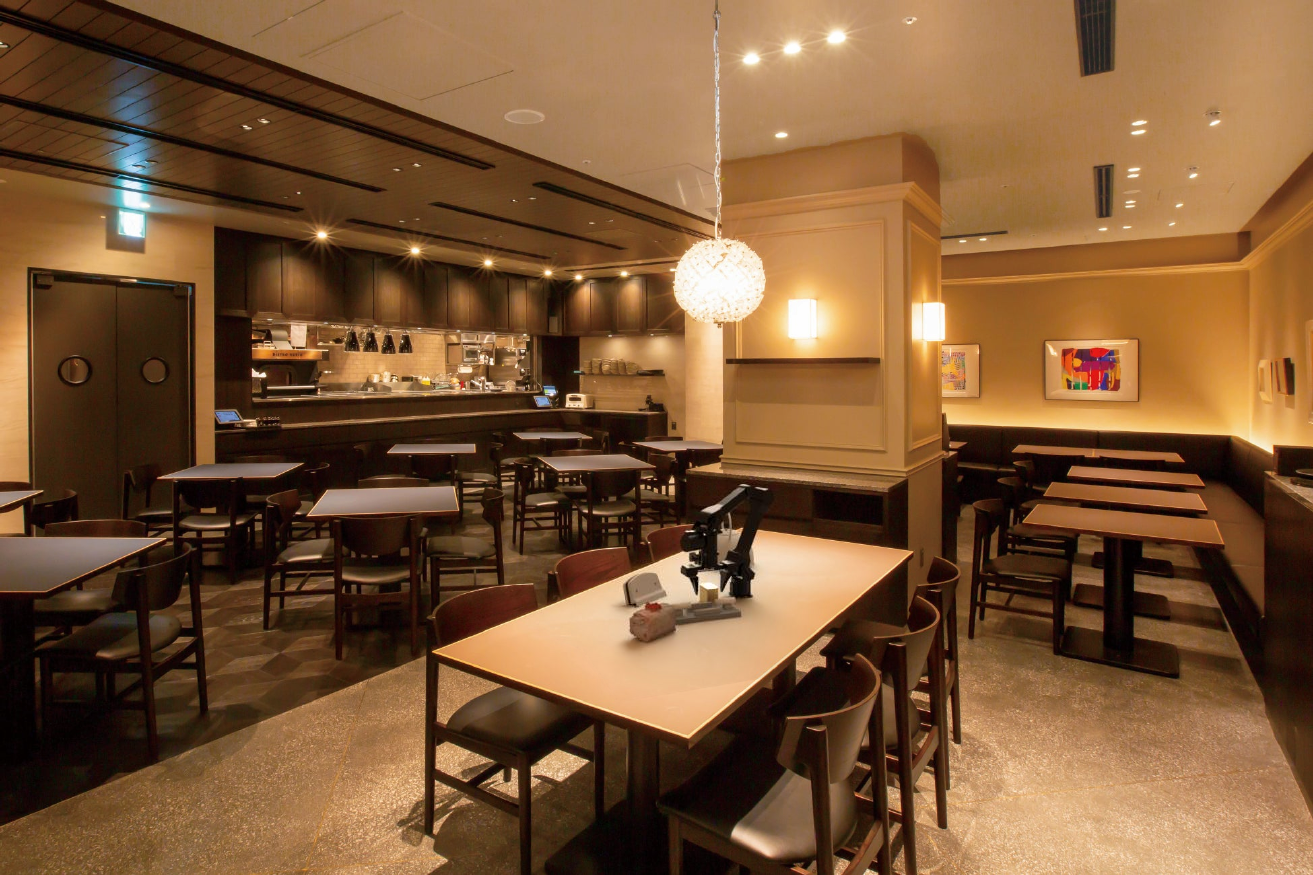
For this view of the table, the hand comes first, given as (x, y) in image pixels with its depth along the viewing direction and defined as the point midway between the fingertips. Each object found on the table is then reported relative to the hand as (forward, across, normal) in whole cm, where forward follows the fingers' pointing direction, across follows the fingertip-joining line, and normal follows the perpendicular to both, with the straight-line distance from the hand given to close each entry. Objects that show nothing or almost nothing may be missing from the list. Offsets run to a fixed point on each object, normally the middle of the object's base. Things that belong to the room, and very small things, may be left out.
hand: (709, 593), depth 236 cm
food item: (+4, +28, +22) cm, 36 cm away
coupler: (+3, 0, 0) cm, 3 cm away
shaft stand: (+3, +7, +11) cm, 13 cm away
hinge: (+4, +19, -12) cm, 23 cm away
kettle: (+4, -29, -48) cm, 56 cm away
